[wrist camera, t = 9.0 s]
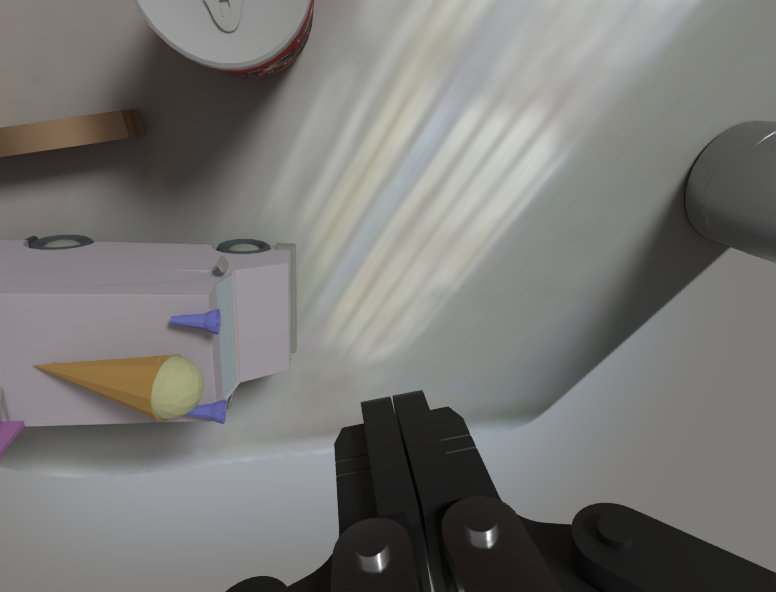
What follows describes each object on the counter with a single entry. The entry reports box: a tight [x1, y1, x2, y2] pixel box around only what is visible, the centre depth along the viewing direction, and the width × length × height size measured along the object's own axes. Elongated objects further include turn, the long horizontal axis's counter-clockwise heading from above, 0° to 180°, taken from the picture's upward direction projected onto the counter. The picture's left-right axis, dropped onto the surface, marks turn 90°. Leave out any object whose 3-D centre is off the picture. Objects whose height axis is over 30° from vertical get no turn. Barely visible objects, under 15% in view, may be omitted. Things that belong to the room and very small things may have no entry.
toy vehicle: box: [0, 235, 296, 458], centre depth 29 cm, size 9×20×15 cm, turn 86°
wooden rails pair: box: [0, 109, 145, 157], centre depth 31 cm, size 14×18×6 cm
